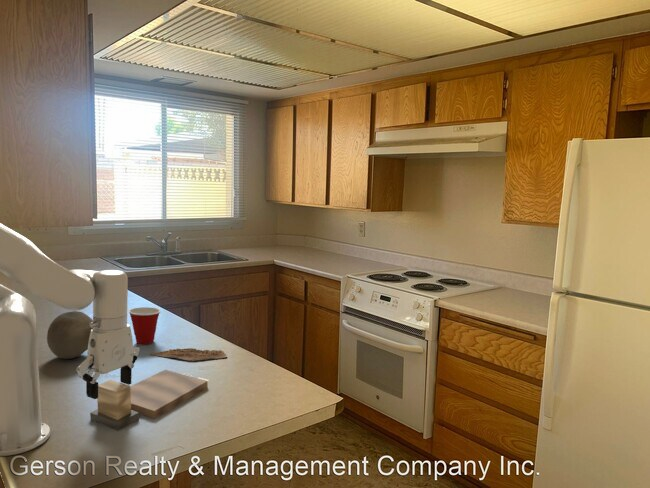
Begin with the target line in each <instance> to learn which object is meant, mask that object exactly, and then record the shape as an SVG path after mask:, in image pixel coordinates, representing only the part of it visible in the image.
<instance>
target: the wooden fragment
mask: <svg viewBox="0 0 650 488" xmlns="http://www.w3.org/2000/svg"><path fill="white" fill-rule="evenodd" d="M150 356H157V357H163V358H172V359H178V360H184V361H190V362H195V361H204V360H214V359H215V360H216V359H223V358H228V356H227V354H226V353H225V351H223V350H221V349H220V350H215V349H214V350H209V349H204V350H202V349H197V348H192V347H190V348H176V349H175V348H174V349H173V348H172V349H169V350H164V351H160V352H159V351H158V352H155V353H150Z"/></svg>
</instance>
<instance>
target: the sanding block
mask: <svg viewBox="0 0 650 488" xmlns="http://www.w3.org/2000/svg"><path fill="white" fill-rule="evenodd" d="M130 386H131V385H128V384H125V383H122V382H121V381H120V382H119V381H116V380H113V379H109V380H106V381H103V382H102V383H100V384H99V383H98V398H97V399H96V400H97V408H96V409H95V410H93V411H91V412H90V413H89V415H90V416H89V417H90V420H91V421H93V422H95V423H96V424H97V423H98V424H100V425H103V426H106V427H108V428H110V429H113V430H116V431H121V430H123V429H124V428H127V427H128V426H131V425H132V424H134V423H135V422H138V421H139V420H140V413H139V412H136V411H133V410H131V389H130Z"/></svg>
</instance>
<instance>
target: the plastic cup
mask: <svg viewBox="0 0 650 488" xmlns="http://www.w3.org/2000/svg"><path fill="white" fill-rule="evenodd" d="M161 312H162V310H161V309H160V308H157V307H149V306H146V307H145V306H140V307H133V308H130V309H128V313H129V316H130V320H131V324H132V328H133V334H134V337H135V342H136V344H137V345H141V346H143V345H146V346H147V345H150V344H152V343H154V340H155V335H156V330H157V324H158V319H159V316H160V314H161Z"/></svg>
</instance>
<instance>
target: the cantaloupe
mask: <svg viewBox="0 0 650 488" xmlns="http://www.w3.org/2000/svg"><path fill="white" fill-rule="evenodd" d="M90 322H93V318H91V317H90V316H89V315H88V314H86V313H84V312H82V311H79V310H77V311H72V310H71V311H67V312H64V313H62V314H61V313H60V314H59V315H58V316H57V317H55V318H54V319H53V320H52V321H51V322H50V324H49V325H48V326H49V327H48V329H47V333H46V334H47V335H46V340H47V341H46V343H47V346H48V348H49V350H50V352H51V353H52V354H53V355H55V356H56V358H59V359H62V360H70V359H75V358H77V357H79V356H81V355H82V354H84V353H85V352H86V351H88V343H89V337H90V332H91V330H92V329H93V328H91V327H90Z"/></svg>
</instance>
